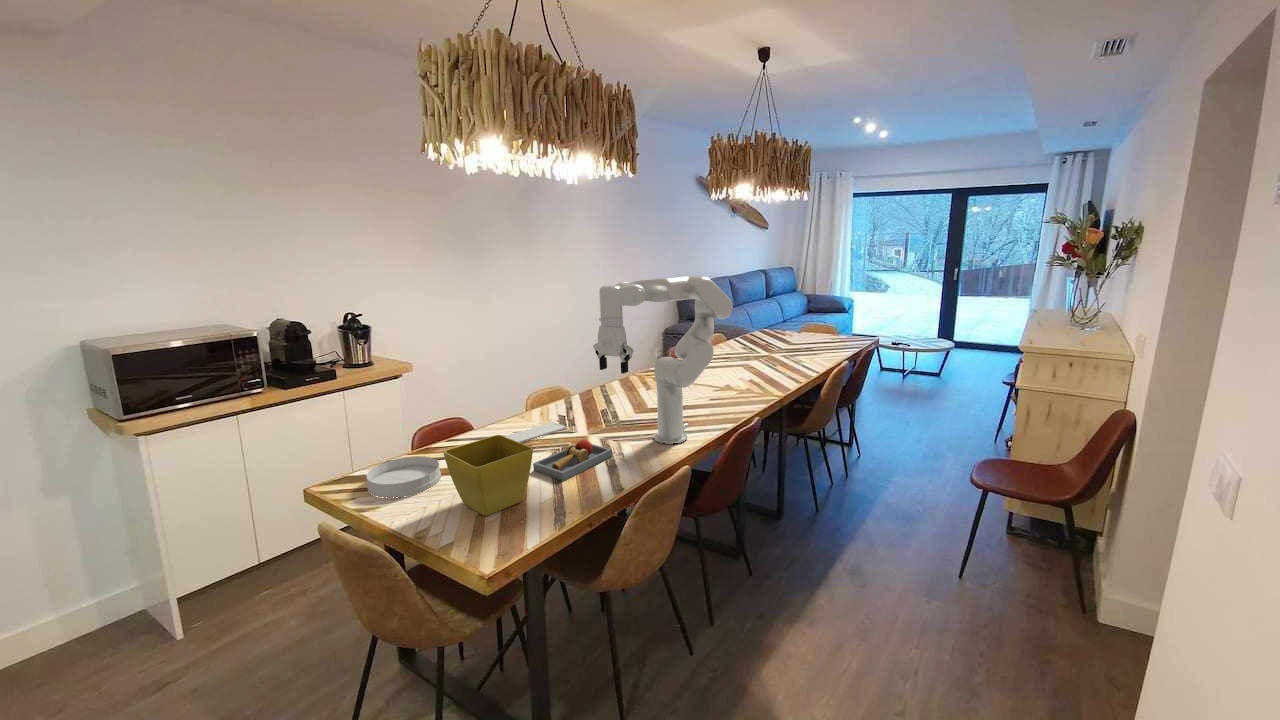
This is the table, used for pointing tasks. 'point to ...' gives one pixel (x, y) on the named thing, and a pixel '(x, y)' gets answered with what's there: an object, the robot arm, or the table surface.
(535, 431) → the baseboard
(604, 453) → the cradle tray
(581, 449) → the kendama
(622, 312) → the robot arm
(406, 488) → the dish
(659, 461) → the table surface
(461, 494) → the flower pot
